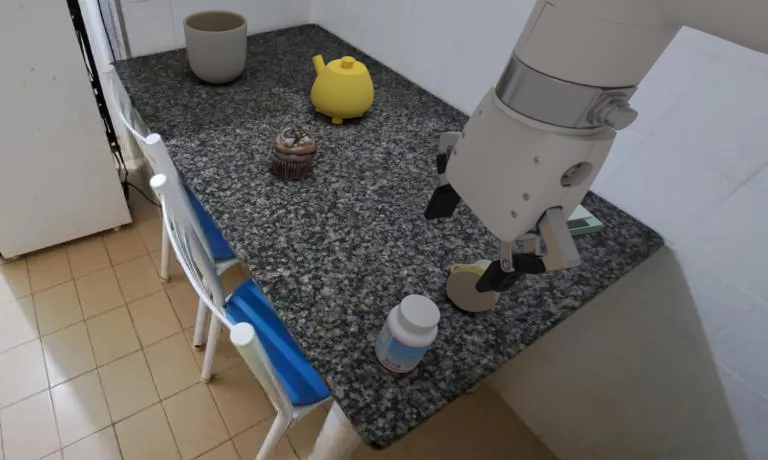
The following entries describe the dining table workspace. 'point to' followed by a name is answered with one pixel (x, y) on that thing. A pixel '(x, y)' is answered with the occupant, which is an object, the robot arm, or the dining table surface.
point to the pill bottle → (407, 333)
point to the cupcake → (293, 152)
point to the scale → (582, 222)
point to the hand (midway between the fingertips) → (461, 249)
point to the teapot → (341, 88)
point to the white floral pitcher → (470, 287)
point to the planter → (216, 44)
